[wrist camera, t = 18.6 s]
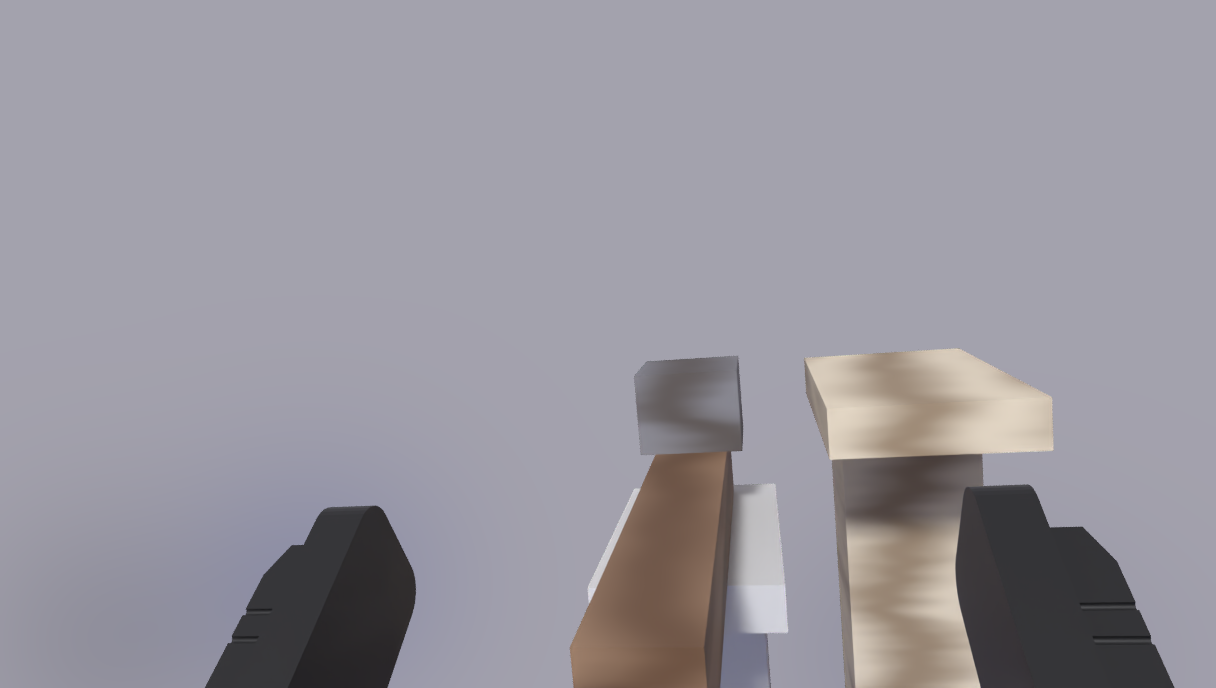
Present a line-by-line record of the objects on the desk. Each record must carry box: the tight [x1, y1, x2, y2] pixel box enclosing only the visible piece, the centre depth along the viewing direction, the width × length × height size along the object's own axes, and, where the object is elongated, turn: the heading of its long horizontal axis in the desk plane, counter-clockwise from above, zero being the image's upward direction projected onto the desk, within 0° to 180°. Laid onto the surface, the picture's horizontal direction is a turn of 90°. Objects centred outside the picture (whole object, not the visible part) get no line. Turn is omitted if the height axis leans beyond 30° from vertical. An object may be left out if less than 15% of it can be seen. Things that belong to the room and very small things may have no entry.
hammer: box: [570, 356, 743, 688], centre depth 34 cm, size 5×25×8 cm, turn 171°
